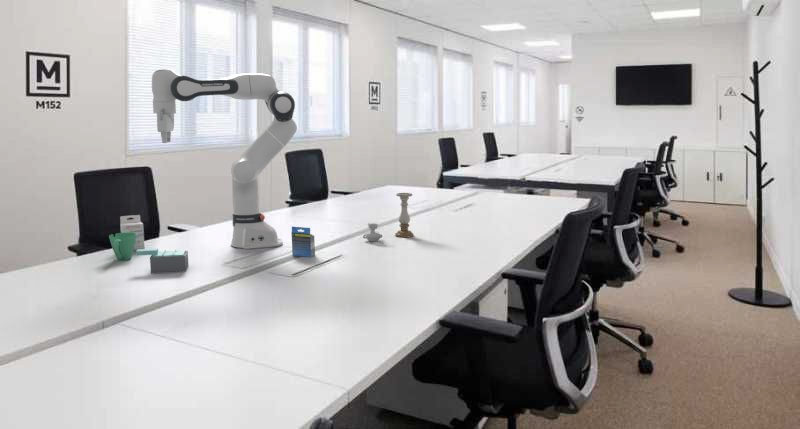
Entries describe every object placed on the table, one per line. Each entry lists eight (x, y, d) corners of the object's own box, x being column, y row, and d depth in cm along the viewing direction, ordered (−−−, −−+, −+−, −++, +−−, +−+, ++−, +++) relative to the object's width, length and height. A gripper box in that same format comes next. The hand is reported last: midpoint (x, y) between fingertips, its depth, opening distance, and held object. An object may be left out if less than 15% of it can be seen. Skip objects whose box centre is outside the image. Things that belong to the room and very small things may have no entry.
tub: (188, 267, 236) (187, 250, 235) (185, 273, 228) (184, 255, 226) (155, 269, 234) (154, 252, 233) (151, 275, 225) (149, 257, 224)
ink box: (123, 252, 263) (121, 217, 261) (121, 250, 267) (119, 216, 265) (145, 249, 268) (142, 216, 265) (142, 247, 272) (140, 214, 269)
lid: (185, 252, 234) (185, 246, 234) (183, 257, 227) (182, 250, 227) (139, 255, 231) (139, 248, 230) (135, 259, 224) (135, 252, 223)
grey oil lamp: (381, 239, 290) (381, 221, 289) (383, 242, 283) (383, 224, 282) (362, 240, 288) (362, 222, 287) (363, 242, 282) (363, 224, 281)
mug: (115, 256, 255) (113, 232, 253) (140, 255, 256) (138, 232, 254) (104, 265, 240) (102, 239, 239) (130, 264, 242) (129, 239, 240)
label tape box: (315, 255, 257) (314, 226, 255) (310, 257, 253) (310, 227, 251) (296, 253, 260) (295, 224, 258) (291, 255, 256) (290, 226, 254)
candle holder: (393, 237, 295) (393, 194, 291) (396, 233, 303) (396, 192, 300) (412, 237, 293) (412, 195, 290) (414, 234, 302) (414, 192, 299)
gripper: (168, 108, 249) (170, 143, 251) (175, 109, 269) (177, 141, 271) (152, 108, 248) (154, 143, 250) (160, 109, 267) (162, 141, 270)
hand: (166, 142), depth 261 cm, fingers open, 8 cm apart
